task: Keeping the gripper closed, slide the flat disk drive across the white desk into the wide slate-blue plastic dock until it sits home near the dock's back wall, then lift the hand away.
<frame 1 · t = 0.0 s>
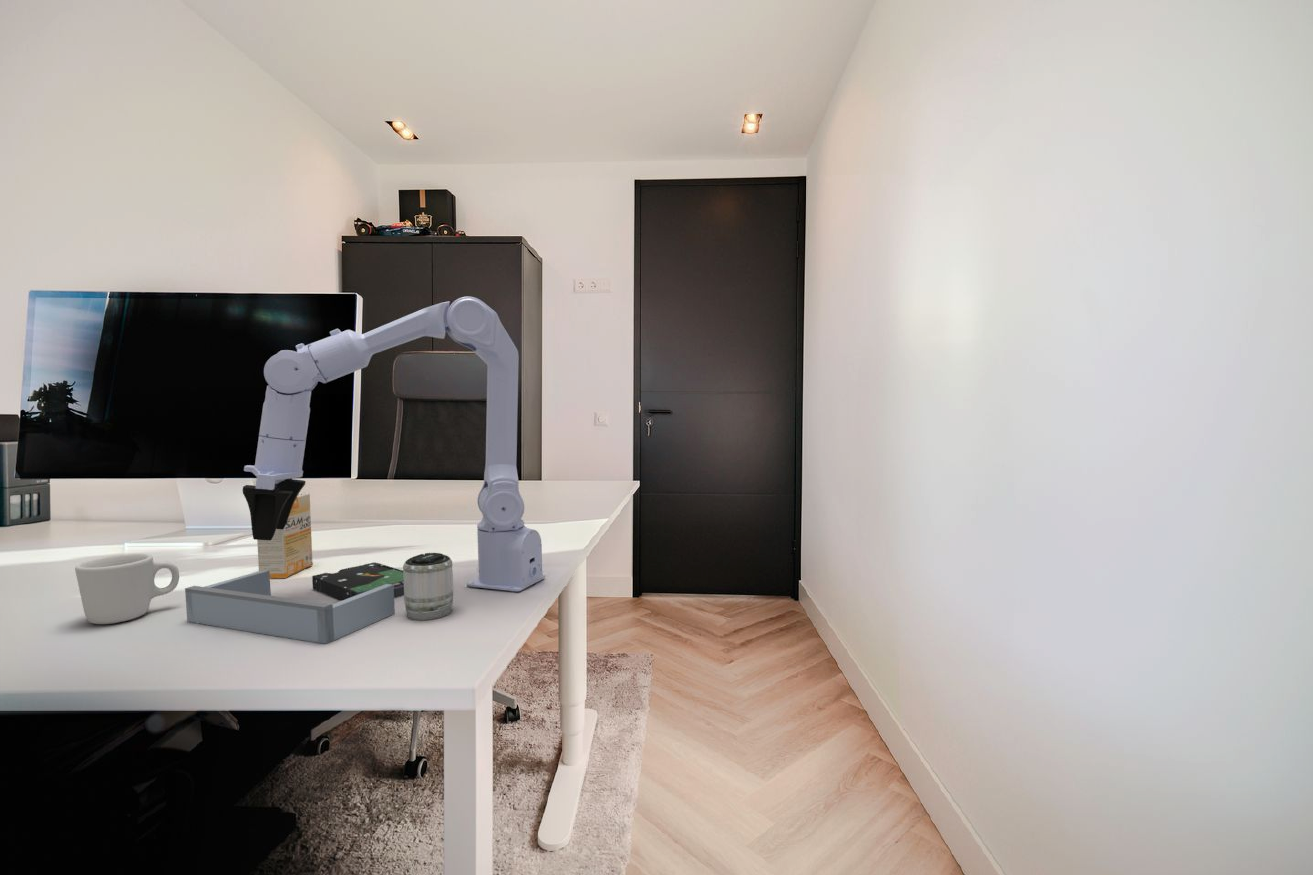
hand: (269, 533, 89), 11 cm above the table, tool pointing down, fingers open, 7 cm apart
disk drive: (367, 594, 97), on the table
dock: (296, 615, 86), on the table
supplement box: (287, 573, 108), on the table
cup: (132, 617, 87), on the table
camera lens: (429, 614, 86), on the table
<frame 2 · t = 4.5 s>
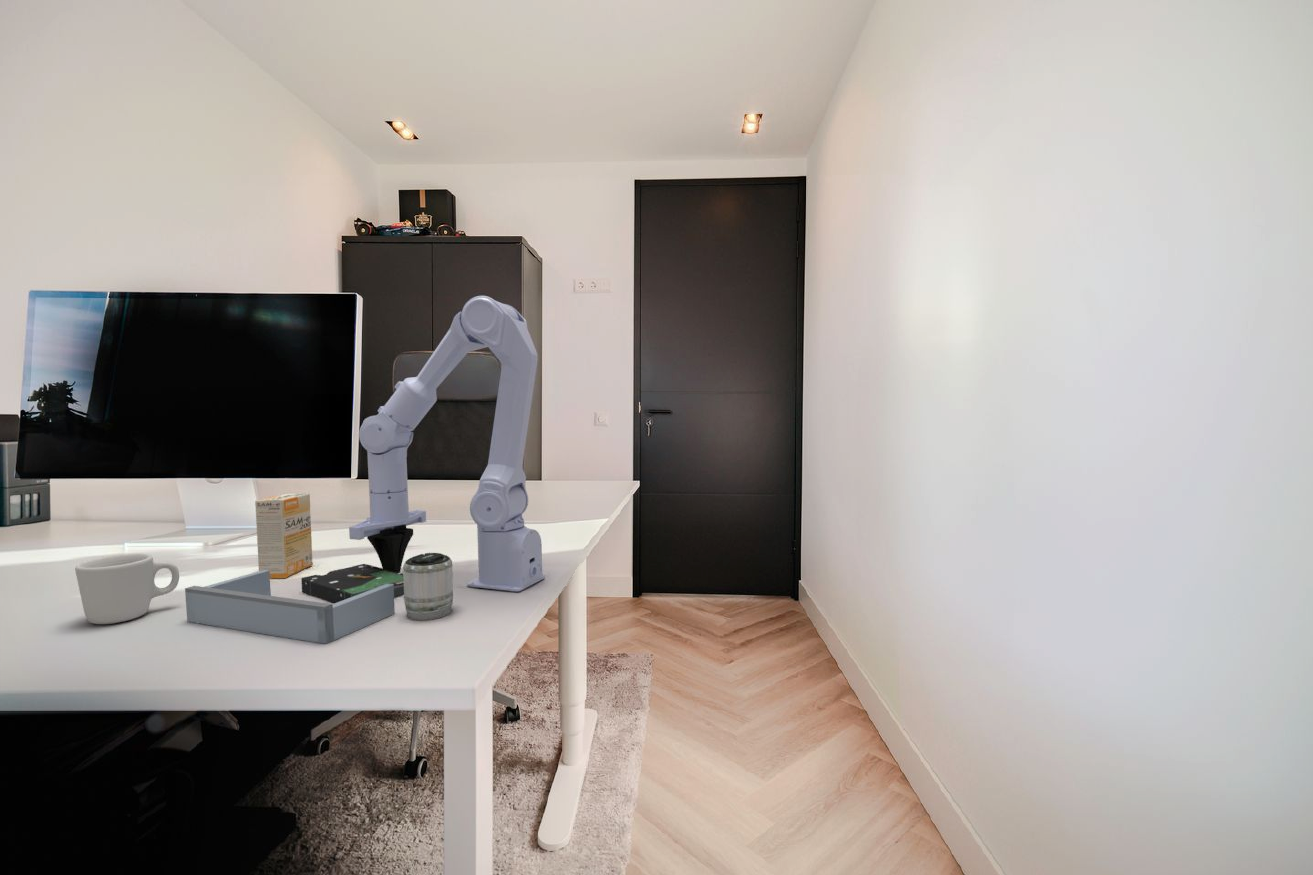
hand: (392, 574, 102), 1 cm above the table, tool pointing down, fingers closed
disk drive: (359, 595, 96), on the table, touching gripper
everything else where it was.
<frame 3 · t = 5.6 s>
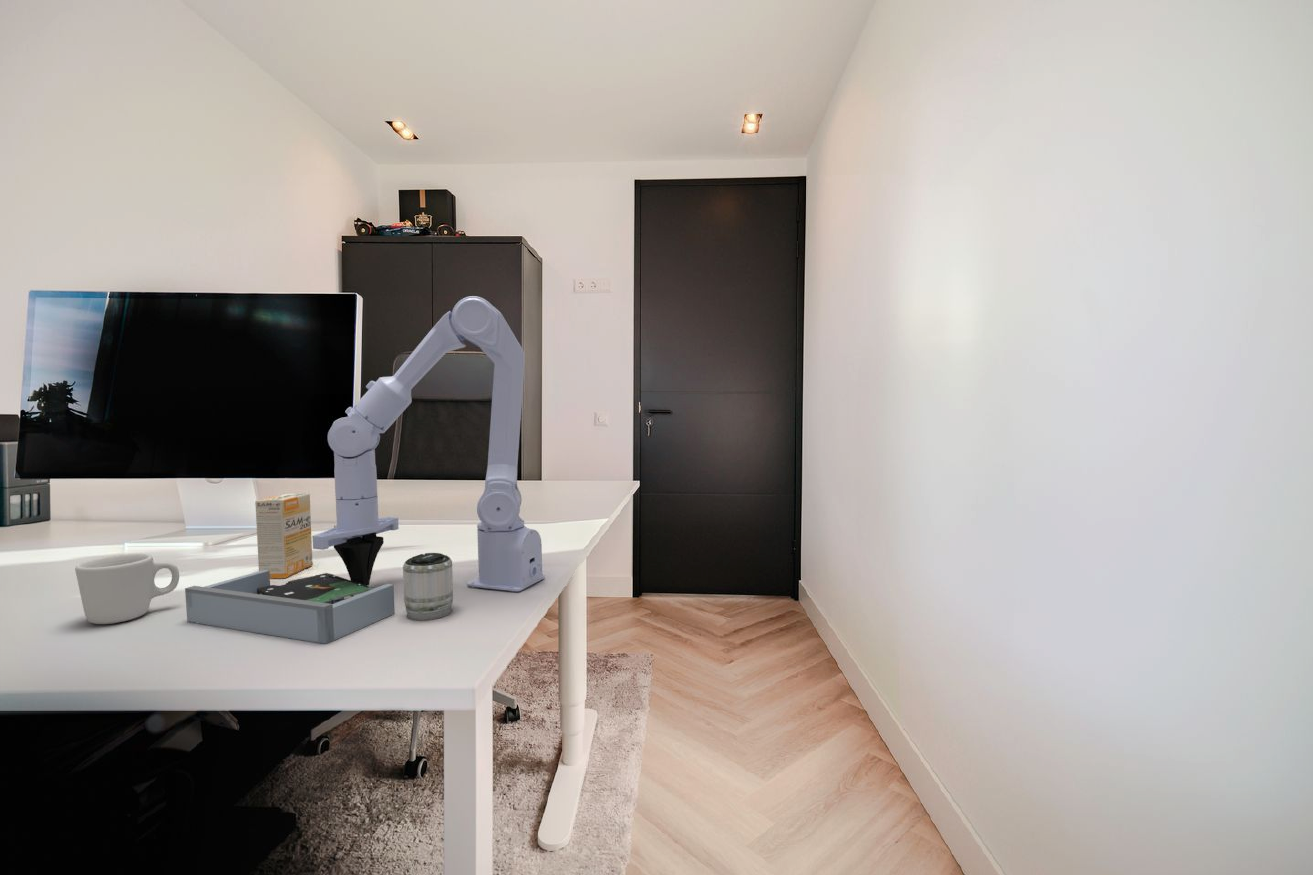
hand: (360, 585, 96), 1 cm above the table, tool pointing down, fingers closed
disk drive: (317, 607, 92), on the table, touching gripper
everything else where it was.
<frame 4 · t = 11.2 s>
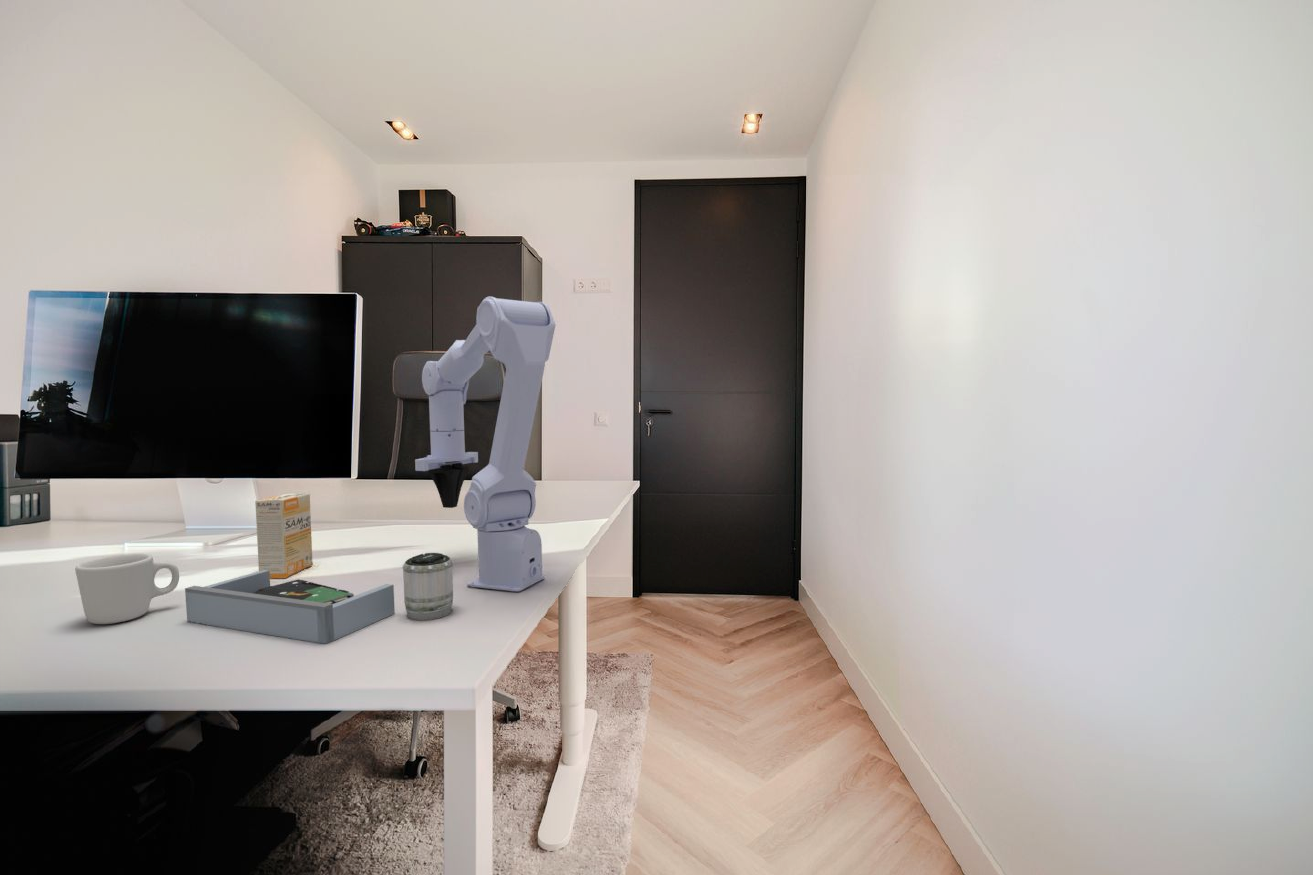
hand: (450, 507, 112), 10 cm above the table, tool pointing down, fingers closed
disk drive: (293, 615, 88), on the table
everything else where it was.
at the end: disk drive 2.7 cm from the target spot on the dock, point -0.8 cm above the dock's base; disk drive moved 11.1 cm from its start; disk drive tilted 0° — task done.
